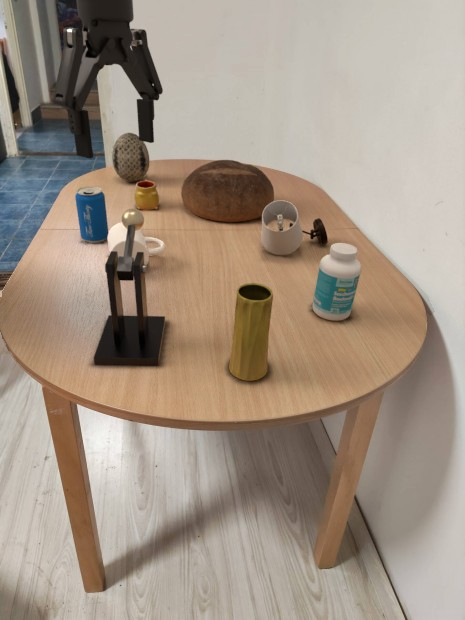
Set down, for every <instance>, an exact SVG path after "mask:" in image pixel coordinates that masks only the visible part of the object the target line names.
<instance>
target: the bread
mask: <svg viewBox="0 0 465 620" xmlns="http://www.w3.org/2000/svg"><path fill="white" fill-rule="evenodd" d="M274 189H275V188H274V186H273V184H272V182H271V180H270V179H269V177H268V176H267V175H266V174H265V173H264V172H263V171H262V169H260V168H258V167H256V166H254V165H252V164H246V163H242V162H240V161H237V160H233V159H219V160H213V161H211V162H207V163H205V164H203V165H200V166H199V167H196V168H195V169H194V170H193V171H192V172H190V173H189V174H188V175H187V177H185V179H184V180H183V183H182V185H181V190H180V191H181V192H180V194H181V200H182V203H183V204H184V206H185V207H186V208H187V210H188V211H190V212H191V213H192V214H194V215H196V216H198V217H199V218H203V219H205V220H211V221H214V222H215V221H216V222H225V223H226V222H227V223H236V222H237V223H238V222H245V221H246V222H247V221H252V220H256V219H259V218H262V213H263V211H264V209H265V207H266V206H267V205H268V204H270V203H271V202H274V201H275V190H274Z"/></svg>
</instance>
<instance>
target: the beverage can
mask: <svg viewBox="0 0 465 620" xmlns="http://www.w3.org/2000/svg"><path fill="white" fill-rule="evenodd" d="M74 198H75V205H76V210H77V218H78V225H79V233H80V237H81V240H83V241H85V242H87V243H90V244H98V243H102V242H104V241H106V240H107V237H108V233H109V225H108V217H107V216H108V215H107V207H106V196H105V193H104V192H103V189H102V188H101V187H99V186H83V187H82V186H81V187H79V188H77V189H76V193H75V197H74Z"/></svg>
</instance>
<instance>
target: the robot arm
mask: <svg viewBox="0 0 465 620" xmlns="http://www.w3.org/2000/svg"><path fill="white" fill-rule="evenodd" d="M133 1H134V0H76V8H77V16H78V18H79V19H80V20H81V23H82V29H81V28H79V27H68V26H67V27H64V28H63V30H62V35H63V36H62V37H63V38H62V39H63V50H62V54H61V58H60V64H59V68H58V73H57V78H56V82H55V86H54V90H53V91H54V93H53V96H52V103H53V105H55V106H58V107H61V108H62V109H65V110H66V113H67V118H68V125H69V131H70V134H72V135H73V137H74V143H75V153H76V156H78V157H82V158H86V159H89V160H90V159H93V158H94V152H93V151H94V149H93V142H92V135H91V134H92V133H91V126H90V119H89V110H86V109H84V106H85V104H86V101H87V99H88V97H89V95H90V93H91V90H92V88H93V86H94V84H95V82H96V80H97V77H98V75H99V72H100V71H101V70H102V69H104V67H105V66H113V65H118V66H120V67H121V68H122V70H123V72H124V73H125V75H126V76H127V78H128V79H129V81H130V83H131V84H132V86H133V87H134V89H135V91H136V92H137V93H138V95H139V97H140V98H137V99H136V110H137V111H136V113H137V127H138V136H139V140H140V141H143V142H144V143H149V144H153V143H155V135H154V133H155V132H154V120H155V101H159V99H160V95H162V94H163V92H164V89H163V85H162V82H161V80H160V77H159V74H158V72H157V68H156V65H155V62H154V59H153V57H152V54H151V51H150V48H149V43H148V35H147V30H145V29H144V28H143V29H142V28H131V25H130V24H131V23H132V22H133V21H134V2H133ZM84 47H85V49H84Z"/></svg>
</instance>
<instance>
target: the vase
mask: <svg viewBox="0 0 465 620" xmlns="http://www.w3.org/2000/svg"><path fill="white" fill-rule="evenodd" d="M273 301H274V292H273V290H272V288H270V287H269V286H267V285H264V284H263V283H257V282H248V283H244V284H241V285H239V286H238V287H237V289H236V298H235V307H234V308H235V309H234V318H233V319H234V321H233V334H232V341H231V350H230V360H229V364H228V370H229V371H230V374H231V375H233V376H234V377H235V378H237V379H239V380H242V381H245V382H246V381H247V382H250V381H252V382H253V381H258V380H260V379H262V378H264V377H265V376H266V374H267V372H268V360H269V358H268V357H269V339H270V337H269V336H270V325H271V319H272V311H273V310H272V309H273Z"/></svg>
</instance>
